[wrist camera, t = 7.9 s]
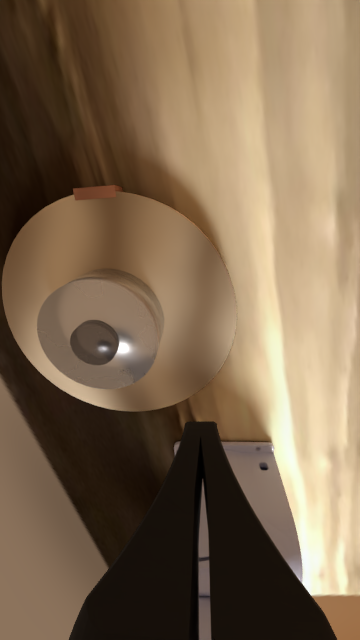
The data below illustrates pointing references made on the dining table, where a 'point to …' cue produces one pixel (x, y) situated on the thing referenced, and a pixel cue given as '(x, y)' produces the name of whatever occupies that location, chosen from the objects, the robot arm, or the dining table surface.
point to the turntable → (139, 260)
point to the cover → (102, 328)
